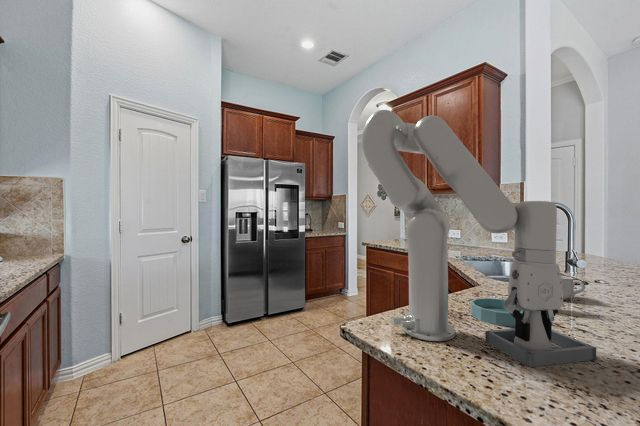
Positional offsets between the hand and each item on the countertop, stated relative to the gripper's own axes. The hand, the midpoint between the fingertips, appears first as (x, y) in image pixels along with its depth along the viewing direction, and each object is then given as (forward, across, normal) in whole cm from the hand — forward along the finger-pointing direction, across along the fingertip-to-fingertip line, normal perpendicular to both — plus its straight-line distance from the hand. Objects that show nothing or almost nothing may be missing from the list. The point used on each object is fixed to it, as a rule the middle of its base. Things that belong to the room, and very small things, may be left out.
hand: (533, 337), depth 66 cm
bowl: (+3, +9, +20) cm, 21 cm away
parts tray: (+3, +1, 0) cm, 3 cm away
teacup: (+3, +44, +32) cm, 54 cm away
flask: (+2, 0, 0) cm, 2 cm away
